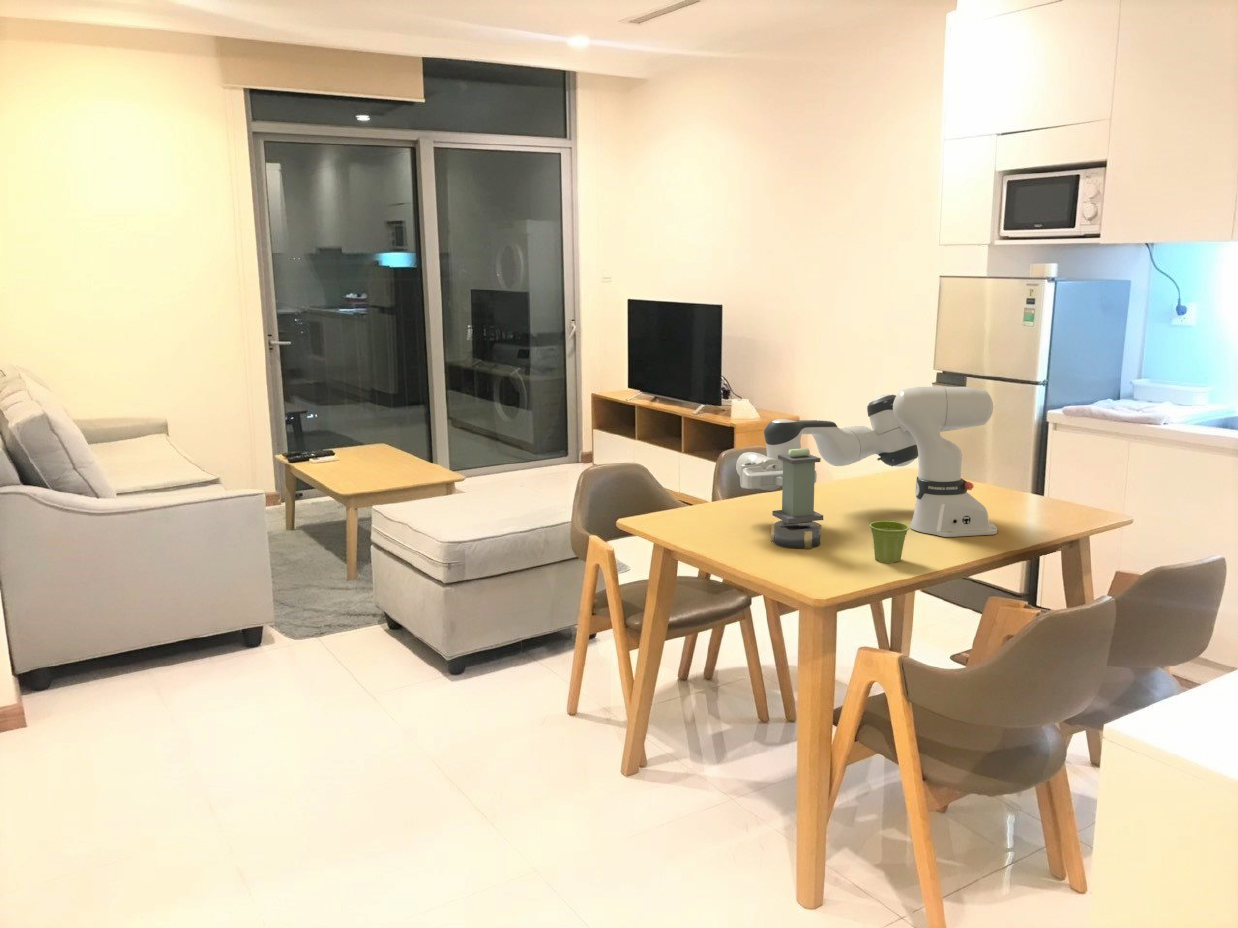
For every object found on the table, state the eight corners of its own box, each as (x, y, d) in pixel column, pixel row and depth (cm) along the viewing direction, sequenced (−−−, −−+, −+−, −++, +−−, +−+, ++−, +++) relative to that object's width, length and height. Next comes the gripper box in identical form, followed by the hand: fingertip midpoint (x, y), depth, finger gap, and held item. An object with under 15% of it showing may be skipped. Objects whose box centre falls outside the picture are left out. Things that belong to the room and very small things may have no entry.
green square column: (806, 517, 264) (808, 444, 260) (823, 525, 256) (825, 450, 252) (772, 521, 261) (773, 447, 257) (788, 529, 253) (789, 453, 249)
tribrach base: (806, 535, 267) (806, 517, 266) (830, 547, 255) (830, 528, 254) (766, 539, 263) (766, 521, 262) (788, 551, 251) (788, 533, 251)
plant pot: (907, 555, 246) (909, 521, 245) (908, 566, 237) (909, 531, 236) (868, 553, 249) (870, 519, 247) (867, 563, 240) (868, 529, 238)
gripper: (803, 482, 276) (827, 491, 263) (735, 487, 270) (756, 497, 257) (803, 460, 275) (827, 468, 262) (735, 465, 269) (756, 473, 256)
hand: (791, 483), depth 259 cm, fingers closed, pressing on green square column
